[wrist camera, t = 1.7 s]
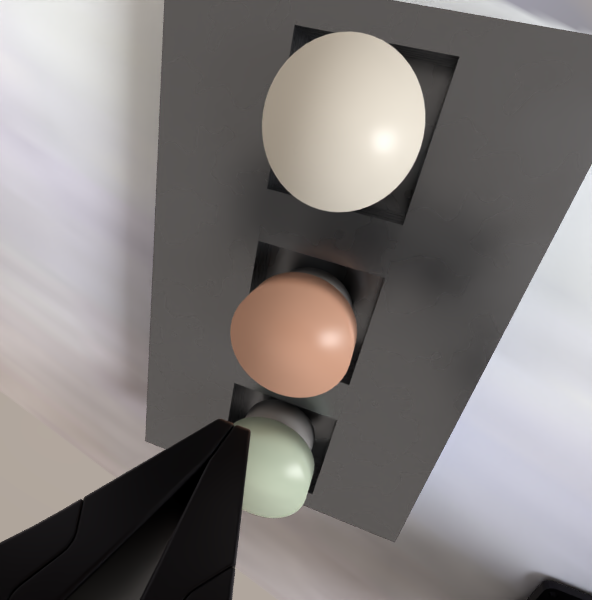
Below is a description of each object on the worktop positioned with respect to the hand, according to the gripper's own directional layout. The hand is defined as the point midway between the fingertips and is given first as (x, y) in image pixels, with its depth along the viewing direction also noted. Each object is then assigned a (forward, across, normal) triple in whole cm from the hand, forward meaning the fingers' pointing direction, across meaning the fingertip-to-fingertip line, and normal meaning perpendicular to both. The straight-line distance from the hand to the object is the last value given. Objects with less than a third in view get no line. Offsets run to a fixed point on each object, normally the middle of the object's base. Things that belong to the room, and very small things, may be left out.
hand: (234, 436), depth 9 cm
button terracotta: (+8, 0, 0) cm, 8 cm away
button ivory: (+8, 0, -7) cm, 10 cm away
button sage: (+8, 0, +7) cm, 10 cm away
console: (+10, 0, 0) cm, 10 cm away
